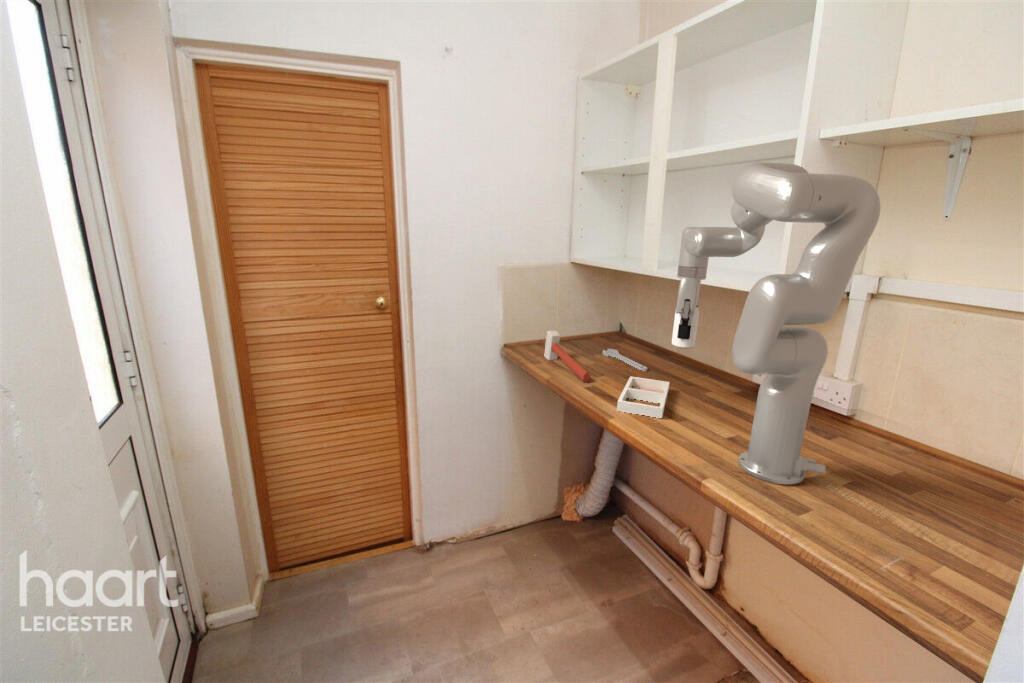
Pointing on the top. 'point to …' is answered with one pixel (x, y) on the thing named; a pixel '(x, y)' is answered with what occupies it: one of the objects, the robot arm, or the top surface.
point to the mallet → (563, 355)
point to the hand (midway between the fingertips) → (683, 336)
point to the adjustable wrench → (624, 359)
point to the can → (694, 324)
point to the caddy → (644, 396)
